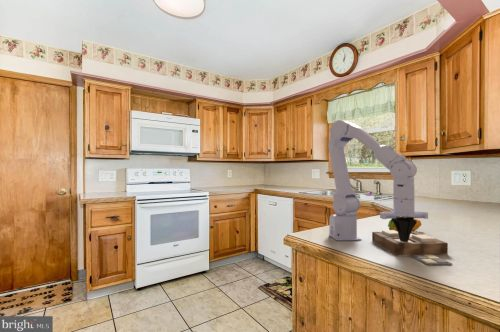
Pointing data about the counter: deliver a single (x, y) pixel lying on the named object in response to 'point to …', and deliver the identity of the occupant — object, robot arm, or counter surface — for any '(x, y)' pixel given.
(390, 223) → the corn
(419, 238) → the button
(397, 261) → the counter surface
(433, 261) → the card
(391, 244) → the button board
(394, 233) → the button
